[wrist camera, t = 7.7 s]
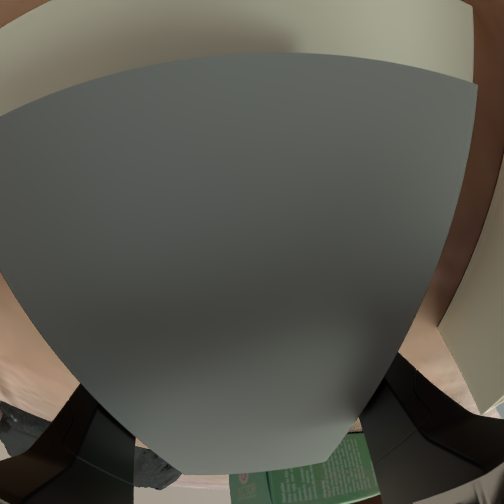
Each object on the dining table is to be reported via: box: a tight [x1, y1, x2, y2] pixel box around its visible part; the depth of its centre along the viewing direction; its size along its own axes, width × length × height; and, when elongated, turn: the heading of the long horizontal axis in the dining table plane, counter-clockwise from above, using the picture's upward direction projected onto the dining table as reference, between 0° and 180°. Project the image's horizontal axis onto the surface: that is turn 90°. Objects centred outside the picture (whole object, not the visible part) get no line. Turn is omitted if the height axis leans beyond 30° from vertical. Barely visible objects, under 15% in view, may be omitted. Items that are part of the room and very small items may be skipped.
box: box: [229, 433, 380, 504], centre depth 21 cm, size 7×14×8 cm, turn 64°
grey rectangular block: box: [0, 53, 478, 475], centre depth 8 cm, size 7×16×3 cm, turn 3°
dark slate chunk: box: [0, 402, 182, 490], centre depth 22 cm, size 15×22×5 cm
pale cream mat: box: [0, 0, 474, 116], centre depth 11 cm, size 16×22×1 cm
